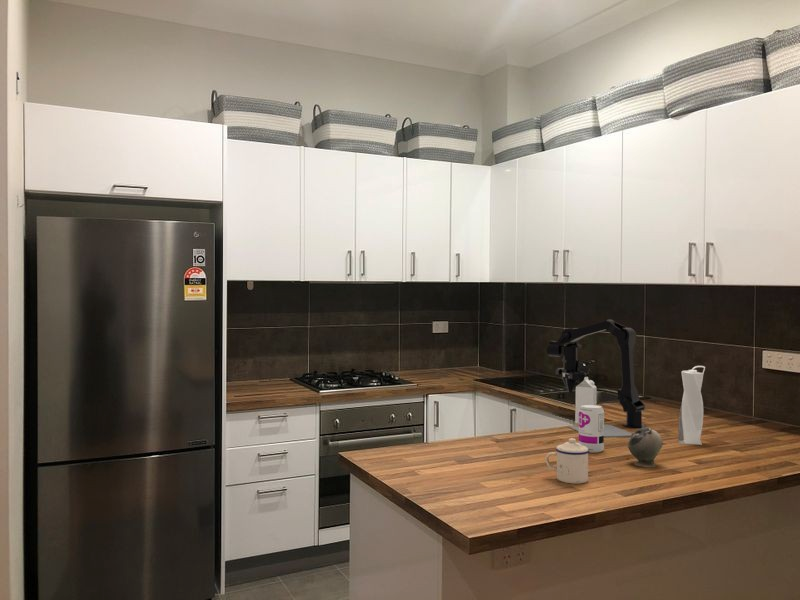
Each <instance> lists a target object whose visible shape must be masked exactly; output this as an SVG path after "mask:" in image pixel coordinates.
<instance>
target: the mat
mask: <svg viewBox="0 0 800 600" xmlns="http://www.w3.org/2000/svg"><path fill="white" fill-rule="evenodd" d="M574 426H575V425H567V428H569V427H571V428H572V430H573V429H574V430H573V431H575V430H576V432H578V433H579V427H574ZM576 426H579V424H578V425H576ZM571 428H570V429H571ZM632 434H633V432H629V431H627V430H624V429H621V428H619V427H617V426H614V425H611V424H609V425H608V424H604V438H621V437H622V438H625V437H631V435H632Z"/></svg>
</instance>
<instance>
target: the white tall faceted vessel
mask: <svg viewBox="0 0 800 600" xmlns="http://www.w3.org/2000/svg"><path fill="white" fill-rule="evenodd" d="M697 368H703V370H702V372H699V371H698V369H697ZM705 370H706V366H704V365H695V366H694V367H692V368H691V369H688V370H682V371H681V378H682V386H683V394H682V399H681V400H682V401H681V406H680V407H679V408H680V410H679V418H678V430H677V431H678V437H677V438H678V439H677V441H678V442H679V444H680V445H693V446H703V444H702V441H701V436H702V432H703V431H702V430H703V423H704V400H703V396H702V392H701V391H702V385H703V381H704V380H703V379H704V373H705Z"/></svg>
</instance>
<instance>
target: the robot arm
mask: <svg viewBox="0 0 800 600" xmlns="http://www.w3.org/2000/svg"><path fill="white" fill-rule="evenodd" d="M604 331H608V332H609V333H610V334H611V335H612V336H614V337H615V338H616V343H617V345H618V348H619V350H620V363H621V381H622V384H621V388H618V389H617V391H616V392H617V401H618V402H619V404H620V406H622V409H623V412H624V413H625V412H626V413H625V414H626V417H625V421H626V423H622V426H625V427H627V426H628V428H631V429H632V428H633V429H635V428H636V427H638V428H642V427H643V426H644V424H642V423H643V419H642V418H643V415H642V412H643V411H645V408H646V405H645V404H644V402H643V401H642V400H641V399H640V395H639V391H638V389H637V387H636V384H635V368H634V366H635V365H634V348H635V344H636V341H637V331H636V330H634V329H633V328H632V327H627V326H625V325H622V324H620V323H618V322H616V321H615V320H613V319H605V320H603V321H599V322H596V323H593V324H589V325H585V326H582V327H574V328H565V329H563V330H562V332H561V335H560V337H559V338H558V340H556V341H555V340H549V341H548V344H547V346H546V350H545V351H546V355H547V356H548V357H559V358H560V357H563V359H561V362H563V367H557V368H556V369H555V375H557V376H560V375H562V376H560V378H561V380H562V381H563V383H564V386H565V388H566V390H567V391H568V394H573V391H574V387H575V384H576V382H577V381H578V380H584V378H585V377H587V375H589V372H590V370H591V367H590V366H587V365H585V364H584V363H583V362H580V360H578V348H579V349H580V348H582V347H583V346H582V344H581V343H579V340H581V339H583V338H584V337H586V336H589V335H592V334H596V333H600V332H604Z"/></svg>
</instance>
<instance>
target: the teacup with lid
mask: <svg viewBox="0 0 800 600" xmlns="http://www.w3.org/2000/svg"><path fill="white" fill-rule="evenodd" d="M555 451H556V452H555ZM555 451H554V452H553V451H551V452H548V453H547V454H546V456H545V462H546V465H547V466H548V468H549V469H551V470H554V471H556V479H557V481H559V482H561V483H566V484H576V485H577V484H584V483H587V482H589V453H590V452H589V450H588V448H587V447H585V446H582V445H581V444H579V442H577V440H576V438H574V437H572V438H568V441H566V442H564V443H561V444H558V445H557V446H556V448H555ZM550 456H556V466H554V465H552V464H551V463H550V461H549V457H550Z"/></svg>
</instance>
